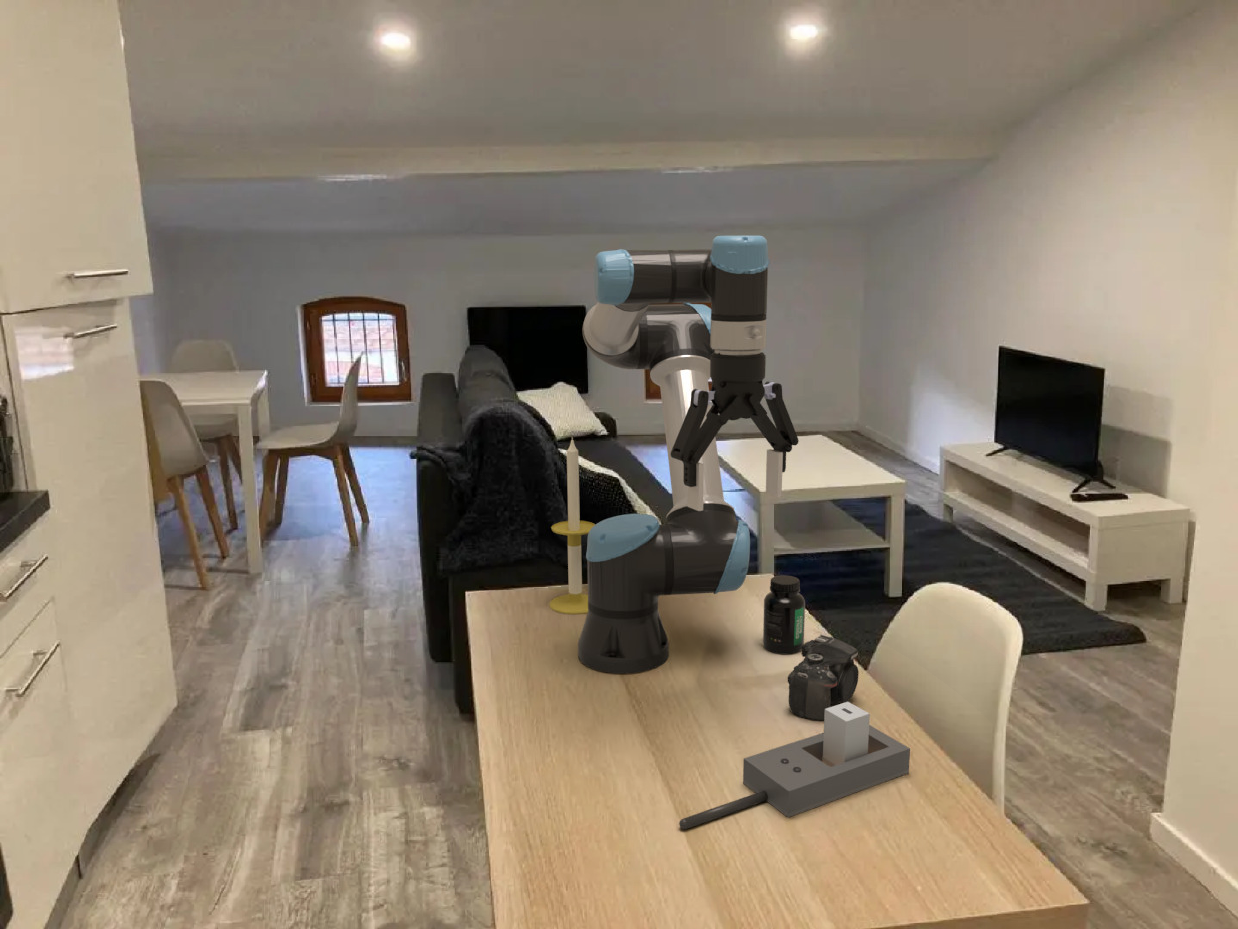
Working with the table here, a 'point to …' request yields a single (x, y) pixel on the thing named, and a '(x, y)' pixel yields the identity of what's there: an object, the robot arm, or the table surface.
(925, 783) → the table surface
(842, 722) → the block
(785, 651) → the supplement bottle
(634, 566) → the robot arm
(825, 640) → the camera
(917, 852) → the table surface
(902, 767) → the power strip
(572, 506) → the candle
